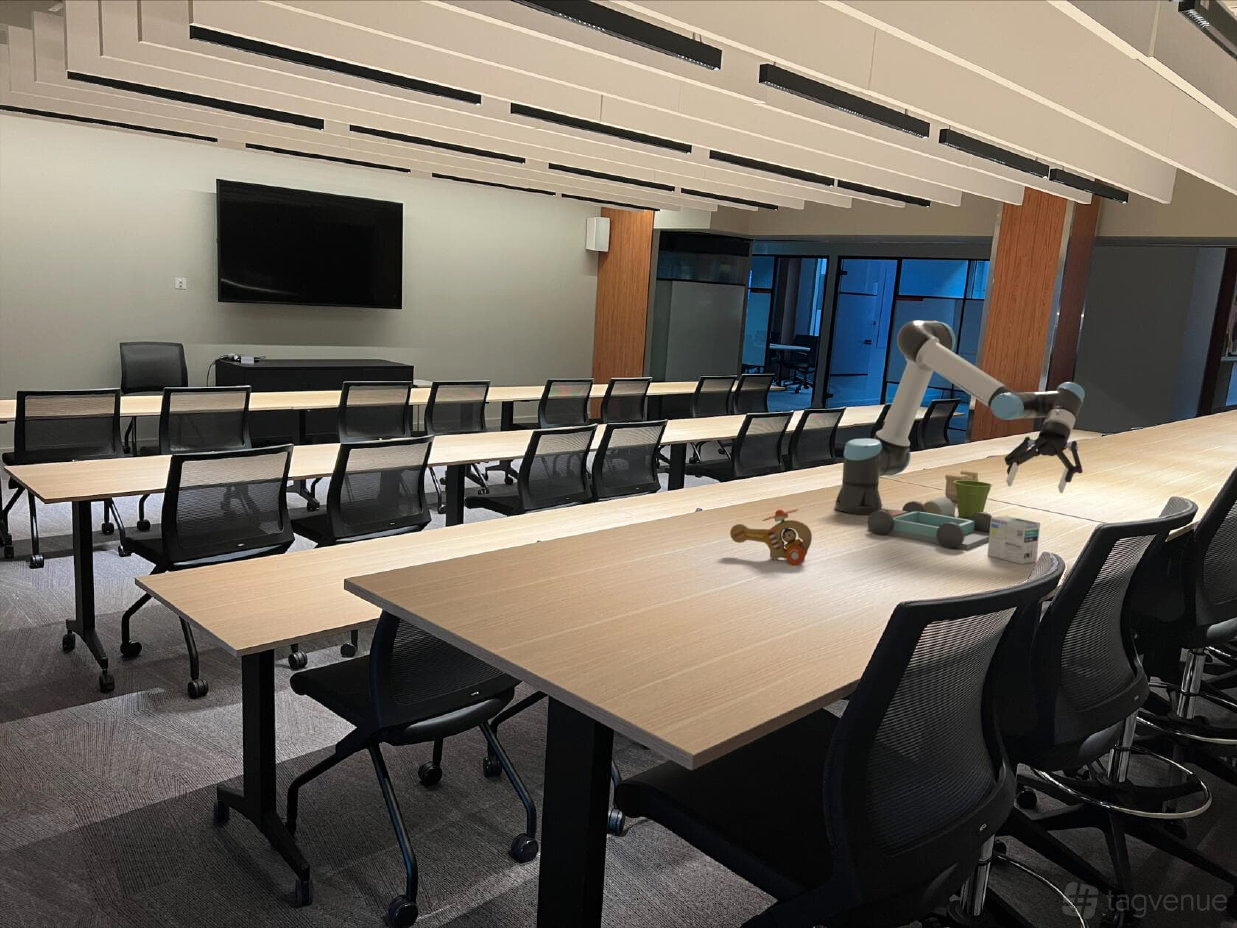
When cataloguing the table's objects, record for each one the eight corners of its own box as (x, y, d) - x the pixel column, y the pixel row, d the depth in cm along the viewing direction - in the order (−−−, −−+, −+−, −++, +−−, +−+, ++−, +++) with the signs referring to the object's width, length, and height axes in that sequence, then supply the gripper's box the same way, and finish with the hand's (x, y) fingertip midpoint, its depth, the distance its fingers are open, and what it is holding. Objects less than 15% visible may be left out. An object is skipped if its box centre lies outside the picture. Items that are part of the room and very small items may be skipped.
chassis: (863, 531, 270) (865, 508, 269) (901, 520, 288) (903, 498, 287) (963, 551, 250) (965, 526, 249) (997, 537, 268) (999, 514, 267)
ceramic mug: (918, 520, 288) (920, 497, 287) (933, 518, 293) (935, 494, 292) (948, 528, 280) (950, 503, 279) (963, 525, 285) (965, 501, 284)
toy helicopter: (808, 566, 228) (811, 513, 226) (726, 557, 234) (729, 505, 232) (811, 559, 235) (815, 507, 233) (732, 550, 241) (735, 499, 239)
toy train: (978, 499, 331) (980, 471, 329) (958, 504, 319) (960, 476, 317) (963, 496, 335) (965, 469, 333) (943, 502, 323) (945, 474, 321)
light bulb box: (1037, 562, 241) (1041, 522, 239) (1022, 565, 237) (1026, 524, 236) (1001, 552, 250) (1005, 514, 248) (986, 555, 246) (990, 516, 244)
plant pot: (996, 518, 296) (1000, 484, 295) (974, 522, 290) (978, 487, 288) (965, 511, 306) (968, 478, 304) (943, 514, 299) (946, 481, 298)
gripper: (1009, 416, 263) (985, 472, 255) (1103, 423, 247) (1081, 483, 238) (1014, 433, 268) (990, 489, 259) (1106, 441, 251) (1085, 501, 243)
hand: (1033, 486), depth 249 cm, fingers open, 13 cm apart
